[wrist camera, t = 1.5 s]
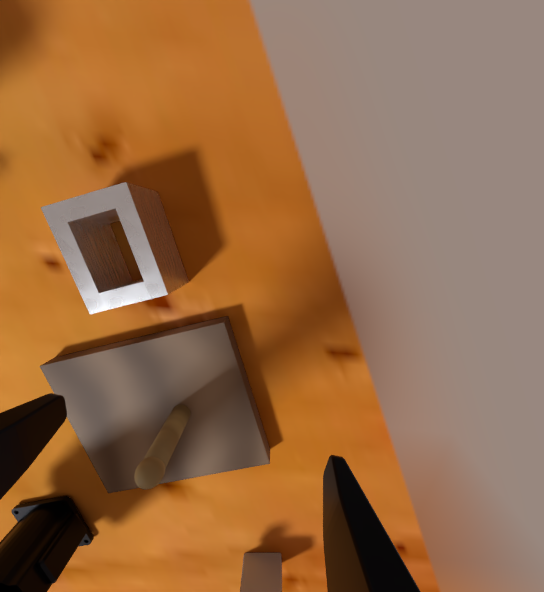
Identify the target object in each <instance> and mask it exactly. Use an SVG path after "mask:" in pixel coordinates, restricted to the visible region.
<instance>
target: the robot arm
mask: <svg viewBox="0 0 544 592" xmlns="http://www.w3.org/2000/svg"><path fill="white" fill-rule="evenodd" d="M66 417H67V409H66V403H65V398H64V397H63V396H62V395H58V394H53V393H51V394H47V395H44V396H42V397H39V398H37V399H34V400H32V401H29V402H27V403H24V404H22V405H19V406H17V407H14V408H12V409H9V410H7V411H4V412H2V413H0V499H1V498H2V497H3V496H4V495H5V494H6V493H7V492H8V491H9V489H10V488H11V487H12V486H13V485H14V484H15V483H16V482H17V480H18V479H19V478H20V477H21V476H22V475H23V474H24V472H25V471H26V470H27V469H28V468H29V466H30V465H31V464H32V463H33V462H34V460H35V459H36V458H37V456H38V455H39V454H40V452H41V451H42V450H43V449H44V447H45V446H46V445H47V443H48V442H49V441H50V439H51V438H52V437H53V436H54V434H55V433H56V432H57V430H58V429H59V428H60V426H61V425H62V424H63V422H64V421H65V419H66ZM12 514H13V515H14V517H15V518H16V520H17V521H18V523H17V524H16V525H15V526H14V527H13V528H12V529H11V531H10V532H9V533H8V534H7V535H6V536H5V537H4V538H3V540H2V541H1V542H0V592H47V591H48V589H49V588H50V586H51V585H52V584H53V583H55V582H56V581H57V579H58V577H59V576H60V574H61V573H62V571H63V569H64V568H65V566H66V565H67V563H68V562H69V560H70V558H71V557H72V555H73V554H74V552H75V550H76V549H77V547H78V546H83V545H89V544H90V543H91V542H92V540H93V538H94V537H93V535H92V534H91V532H90V530H89V528H88V527H87V525H86V523H85V522H84V520H83V518H82V517H81V515H80V513H79V512H78V510H77V508H76V507H75V505H74V503H73V501H72V500H71V498H70V497H68V496H63V497H57V498H52V499H47V500H41V501H36V502H30V503H25V504H20V505H16V506H15V507H14V508H13V510H12ZM323 541H324V554H325V566H326V577H327V588H328V592H420V590H419V588H418V587H417V585H416V583H415V581H414V580H413V578H412V576H411V574H410V573H409V571H408V569H407V567H406V566H405V564H404V562H403V560H402V559H401V557H400V555H399V553H398V552H397V550H396V548H395V546H394V545H393V543H392V541H391V539H390V538H389V536H388V534H387V532H386V531H385V529H384V527H383V525H382V524H381V522H380V520H379V518H378V517H377V515H376V513H375V511H374V510H373V508H372V506H371V504H370V503H369V501H368V499H367V498H366V496H365V494H364V492H363V491H362V489H361V487H360V485H359V484H358V482H357V480H356V478H355V477H354V475H353V473H352V471H351V470H350V468H349V466H348V464H347V463H346V461H345V459H344V458H343V457H340V456H335V455H331V456H330V457H329V460H328V462H327V465H326V468H325V471H324V476H323Z"/></svg>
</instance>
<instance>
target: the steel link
mask: <svg viewBox="0 0 544 592" xmlns="http://www.w3.org/2000/svg"><path fill="white" fill-rule="evenodd" d="M41 209H42V211H43V213H44V215H45V218H46V220H47V222H48V224H49V226H50V229H51V231H52V233H53V235H54V237H55V239H56V242H57V244H58V246H59V248H60V250H61V252H62V255H63V257H64V259H65V261H66V263H67V266H68V268H69V270H70V272H71V274H72V276H73V279H74V281H75V283H76V285H77V287H78V289H79V292H80V294H81V296H82V298H83V300H84V302H85V305H86V307H87V309H88V311H89V313H90V314H93V313H97V312H101V311H105V310H109V309H113V308H117V307H121V306H125V305H129V304H133V303H137V302H141V301H144V300H148V299H152V298H156V297H160V296H164V295H168V294H170V293H171V292H173V291H175V290H177V289H178V288H180V287H182V286H183V285H185V284H187V283H188V282H189V281H188V278H187V275H186V272H185V269H184V266H183V263H182V261H181V258H180V255H179V252H178V249H177V246H176V243H175V240H174V237H173V235H172V232H171V229H170V226H169V223H168V220H167V217H166V214H165V211H164V208H163V206H162V203H161V200H160V197H159V194H158V192H157V191H154V190H151V189H147V188H144V187H141V186H138V185H134V184H131V183H128V182H124V183H121V184H117V185H114V186H111V187H107V188H104V189H101V190H97V191H94V192H91V193H87V194H84V195H81V196H77V197H74V198H71V199H67V200H64V201H60V202H57V203H54V204H50V205H47V206H44V207H41ZM117 221H121V224H122V226H123V229H124V231H125V234H126V237H127V239H128V242H129V244H130V247H131V249H132V252H133V255H134V257H135V260H136V262H137V265H138V267H139V270H140V272H141V275H142V278H143V279H139V280H135V281H133V280H132V278H131V275H130V273H129V270H128V268H127V265H126V263H125V260H124V258H123V255H122V253H121V250H120V248H119V245H118V243H117V240H116V238H115V235H114V233H113V230H112V228H111V225H110V223H114V222H117Z"/></svg>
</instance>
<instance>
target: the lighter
mask: <svg viewBox="0 0 544 592" xmlns="http://www.w3.org/2000/svg"><path fill="white" fill-rule="evenodd" d="M240 592H282V558H281V553H245V554H244V559H243V569H242V578H241V587H240Z"/></svg>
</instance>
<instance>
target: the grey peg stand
mask: <svg viewBox="0 0 544 592" xmlns="http://www.w3.org/2000/svg"><path fill="white" fill-rule="evenodd" d="M40 368H41V370H42V371H43V373H44V375H45V377H46V379H47V381H48V383H49V384H50V386H51V388H52V390H53V392H54V394H58V395H62V396H63V397H64V398H65V403H66V409H67V418H68V420H69V421H70V423H71V425H72V427H73V429H74V431H75V432H76V434H77V436H78V438H79V440H80V442H81V444H82V445H83V447H84V449H85V451H86V453H87V455H88V456H89V458H90V460H91V462H92V464H93V466H94V468H95V469H96V471H97V473H98V475H99V477H100V479H101V481H102V482H103V484H104V486H105V488H106V490H107V492H108V493H113V492H118V491H123V490H129V489H134V488H141V489H151V488H153V487H155V486H157V485H158V484H161V483H167V482H172V481H178V480H183V479H189V478H194V477H200V476H205V475H210V474H216V473H221V472H227V471H232V470H238V469H243V468H248V467H254V466H259V465H265V464H270V447H269V444H268V441H267V438H266V435H265V432H264V429H263V425H262V422H261V419H260V416H259V413H258V410H257V406H256V403H255V400H254V397H253V394H252V391H251V388H250V384H249V381H248V378H247V375H246V372H245V369H244V366H243V362H242V359H241V356H240V353H239V350H238V347H237V343H236V340H235V337H234V334H233V331H232V328H231V325H230V321H229V318H228V316H225V317H221V318H217V319H213V320H209V321H205V322H200V323H196V324H192V325H188V326H184V327H180V328H175V329H171V330H167V331H163V332H159V333H155V334H150V335H146V336H142V337H138V338H134V339H129V340H125V341H121V342H117V343H113V344H109V345H104V346H100V347H96V348H92V349H88V350H84V351H79V352H75V353H71V354H67V355H63V356H59V357H55V358H53V359H51V360H50V361H48V362H46V363H44V364H43V365H41V366H40Z"/></svg>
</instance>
